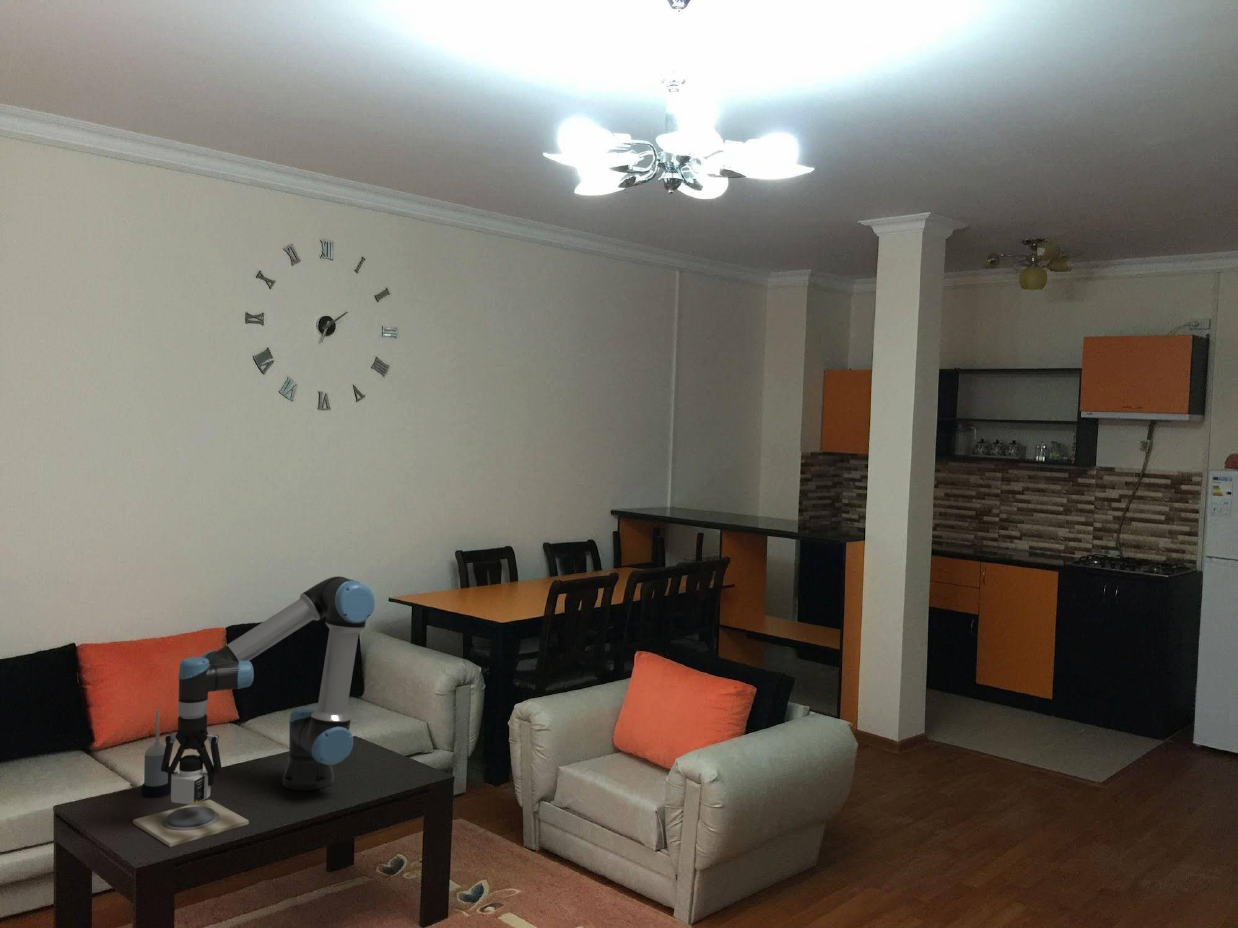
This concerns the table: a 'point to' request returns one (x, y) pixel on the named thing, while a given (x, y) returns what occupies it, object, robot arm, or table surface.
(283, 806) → the table surface
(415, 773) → the table surface
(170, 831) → the square wooden board
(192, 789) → the medicine bottle
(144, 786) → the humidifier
